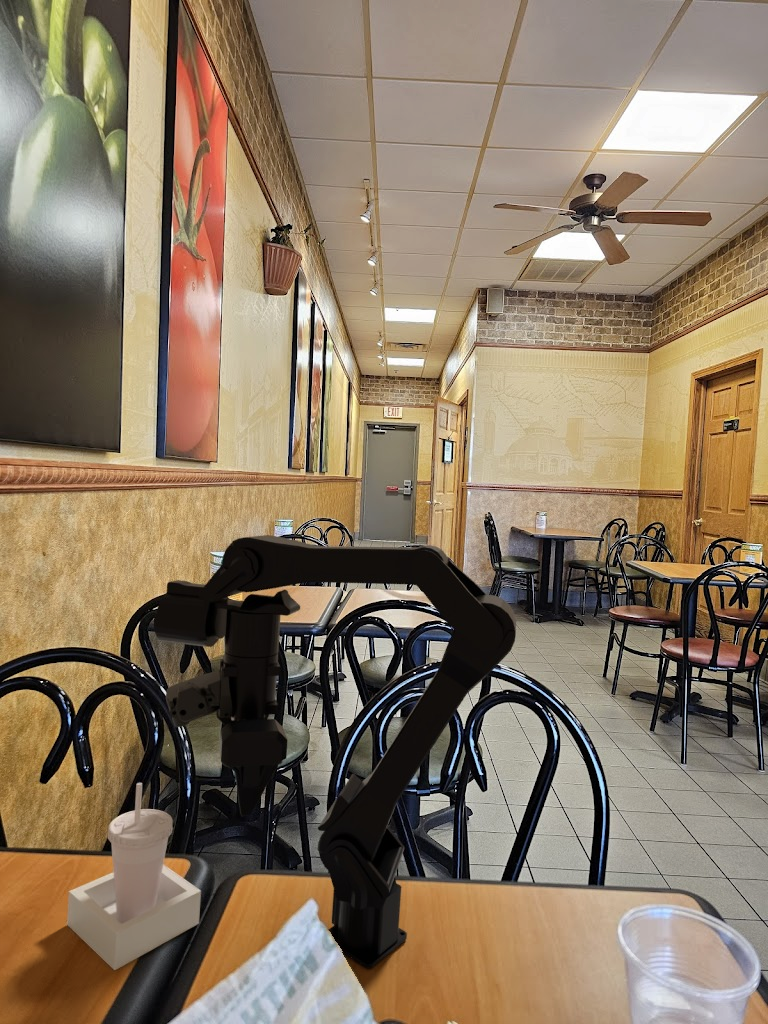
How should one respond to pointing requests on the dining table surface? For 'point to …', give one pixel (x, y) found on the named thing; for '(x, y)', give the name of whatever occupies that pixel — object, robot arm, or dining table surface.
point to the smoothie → (138, 857)
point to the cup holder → (141, 934)
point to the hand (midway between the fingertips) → (242, 794)
